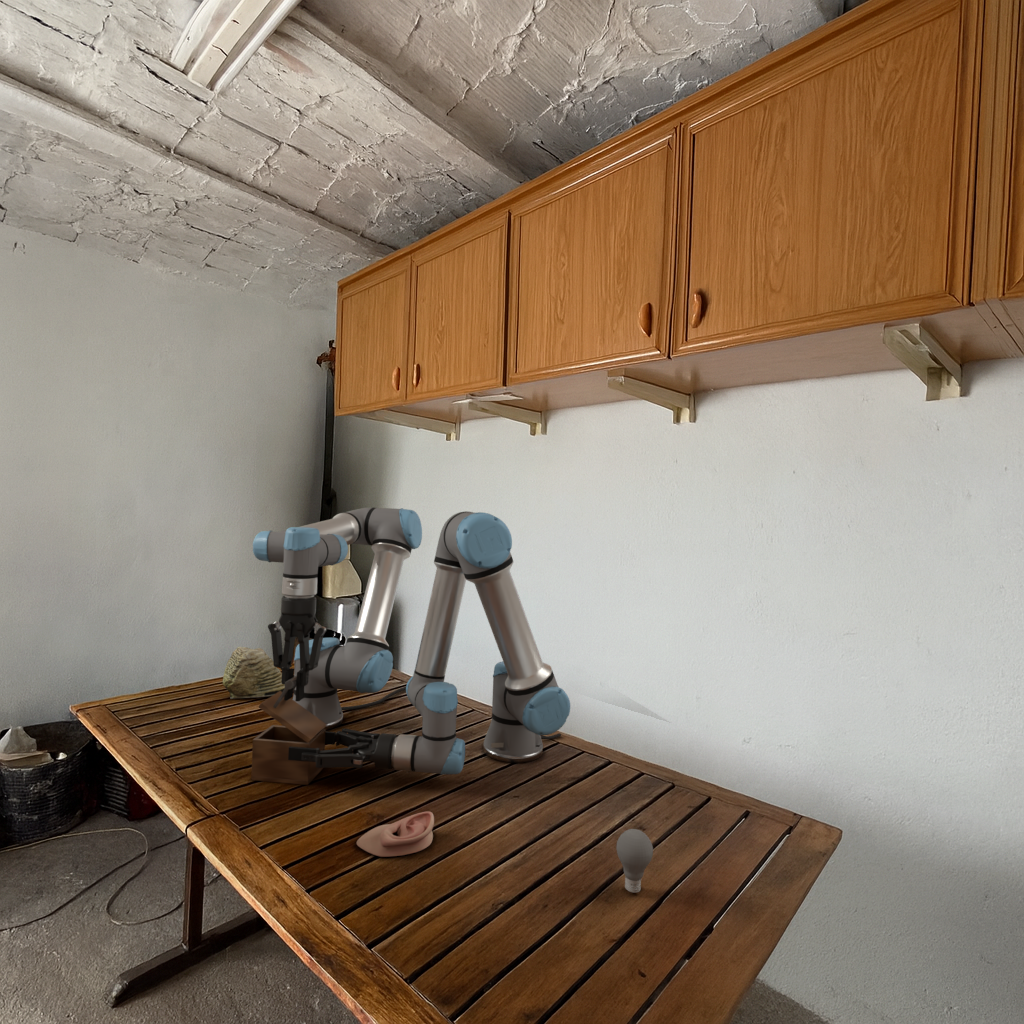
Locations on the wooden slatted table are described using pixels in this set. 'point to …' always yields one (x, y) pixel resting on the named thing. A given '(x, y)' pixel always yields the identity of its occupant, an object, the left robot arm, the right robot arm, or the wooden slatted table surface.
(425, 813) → the anatomical model
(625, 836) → the light bulb
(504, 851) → the wooden slatted table surface
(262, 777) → the chest
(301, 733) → the lid
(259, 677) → the fossil
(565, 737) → the wooden slatted table surface
